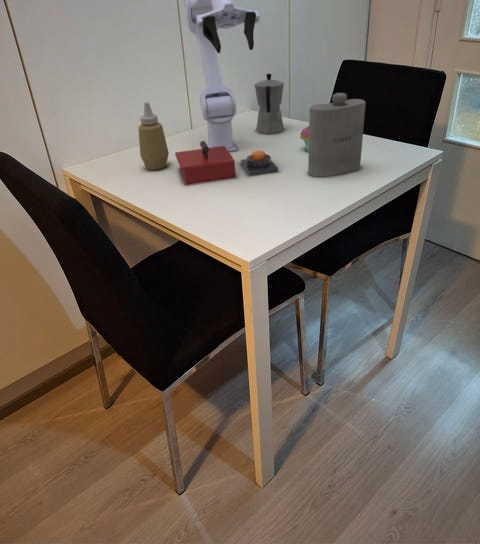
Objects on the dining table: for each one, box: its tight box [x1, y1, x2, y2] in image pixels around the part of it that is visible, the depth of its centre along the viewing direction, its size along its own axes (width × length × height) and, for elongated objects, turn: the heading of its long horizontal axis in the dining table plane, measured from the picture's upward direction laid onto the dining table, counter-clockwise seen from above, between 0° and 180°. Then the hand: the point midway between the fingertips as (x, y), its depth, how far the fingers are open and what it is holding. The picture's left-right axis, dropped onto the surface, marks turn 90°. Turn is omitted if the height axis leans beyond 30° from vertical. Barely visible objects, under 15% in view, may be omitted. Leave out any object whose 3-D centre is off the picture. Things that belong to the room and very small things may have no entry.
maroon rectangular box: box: [179, 163, 237, 186], centre depth 133 cm, size 13×12×4 cm
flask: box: [307, 92, 366, 178], centre depth 125 cm, size 15×6×20 cm, turn 109°
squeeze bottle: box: [138, 101, 170, 171], centre depth 135 cm, size 8×8×18 cm
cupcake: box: [299, 125, 309, 152], centre depth 142 cm, size 9×8×12 cm
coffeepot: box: [253, 73, 285, 135], centre depth 158 cm, size 15×9×18 cm, turn 175°
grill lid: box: [174, 140, 236, 171], centre depth 130 cm, size 14×12×4 cm
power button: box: [251, 150, 266, 160], centre depth 133 cm, size 4×4×2 cm
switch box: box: [240, 153, 279, 177], centre depth 134 cm, size 10×8×3 cm
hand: (235, 48), depth 110 cm, fingers open, 7 cm apart
